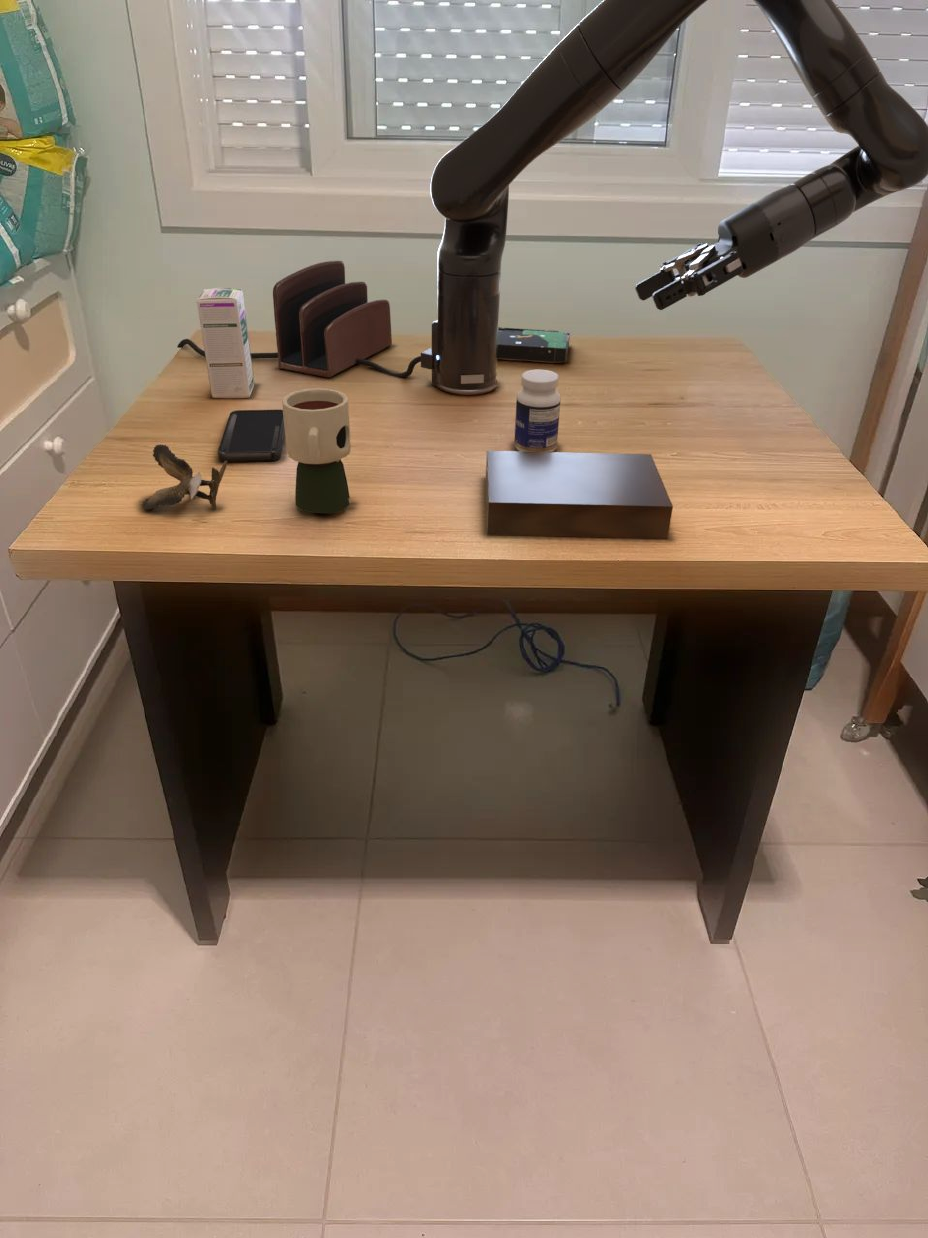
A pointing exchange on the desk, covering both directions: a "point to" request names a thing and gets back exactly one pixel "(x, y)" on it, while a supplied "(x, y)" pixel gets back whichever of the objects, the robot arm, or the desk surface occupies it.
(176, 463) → the eagle figurine
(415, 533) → the desk surface
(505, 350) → the disk drive
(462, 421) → the desk surface
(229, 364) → the syrup box
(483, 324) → the robot arm
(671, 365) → the desk surface
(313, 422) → the character mug
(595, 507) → the walnut stand
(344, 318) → the letter holder
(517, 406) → the pill bottle
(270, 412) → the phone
